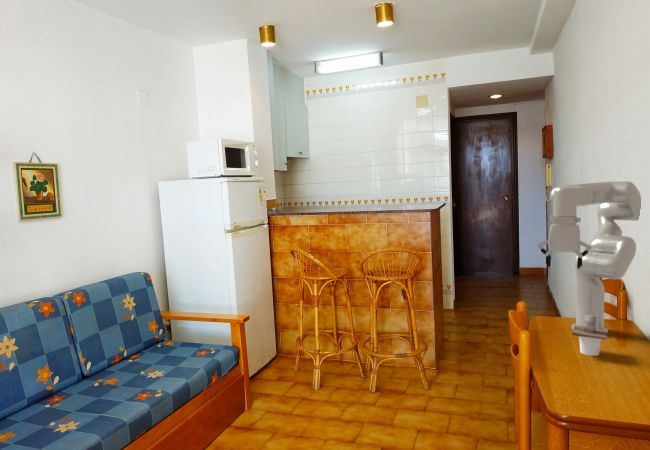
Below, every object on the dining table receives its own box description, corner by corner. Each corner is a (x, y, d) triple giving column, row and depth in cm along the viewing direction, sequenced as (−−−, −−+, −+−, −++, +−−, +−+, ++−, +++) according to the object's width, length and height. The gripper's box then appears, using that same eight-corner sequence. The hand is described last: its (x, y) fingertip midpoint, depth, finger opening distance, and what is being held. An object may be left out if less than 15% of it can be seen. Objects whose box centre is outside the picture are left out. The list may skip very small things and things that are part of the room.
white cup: (604, 356, 155) (604, 336, 154) (582, 355, 156) (582, 336, 155) (596, 349, 161) (596, 330, 161) (575, 348, 163) (575, 329, 162)
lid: (574, 327, 165) (574, 311, 164) (606, 331, 160) (607, 315, 159) (572, 335, 157) (572, 318, 156) (606, 339, 151) (606, 322, 151)
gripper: (592, 220, 164) (591, 267, 165) (539, 219, 173) (539, 264, 175) (591, 222, 158) (590, 271, 159) (537, 221, 167) (536, 267, 168)
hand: (563, 267), depth 167 cm, fingers open, 9 cm apart
